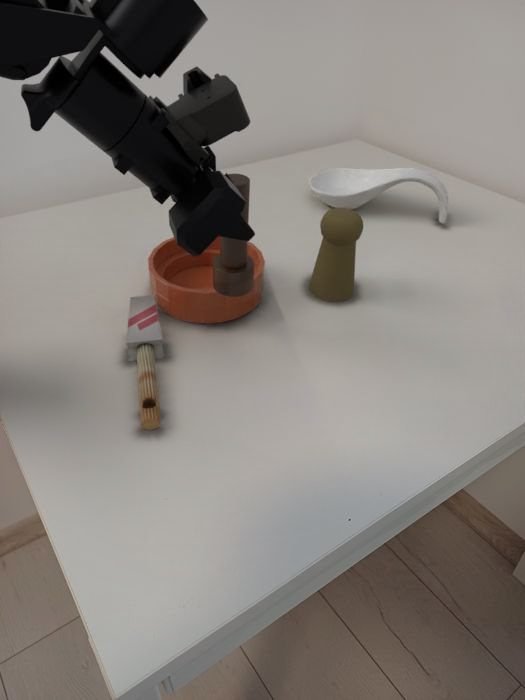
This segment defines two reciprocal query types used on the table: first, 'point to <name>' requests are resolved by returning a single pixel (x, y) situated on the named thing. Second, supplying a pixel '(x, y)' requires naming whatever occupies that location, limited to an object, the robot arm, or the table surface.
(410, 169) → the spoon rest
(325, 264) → the olive game pawn
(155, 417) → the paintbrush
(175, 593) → the table surface
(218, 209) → the robot arm
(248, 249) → the bowl
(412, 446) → the table surface
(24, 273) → the table surface
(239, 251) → the pestle
